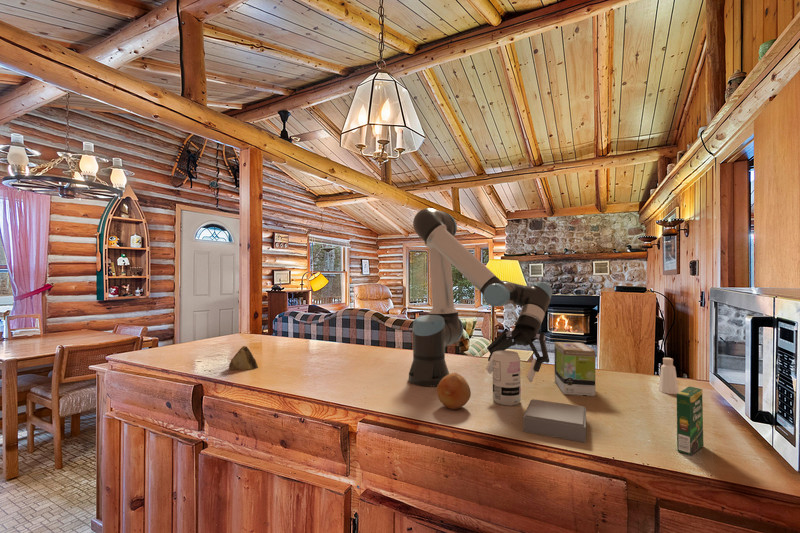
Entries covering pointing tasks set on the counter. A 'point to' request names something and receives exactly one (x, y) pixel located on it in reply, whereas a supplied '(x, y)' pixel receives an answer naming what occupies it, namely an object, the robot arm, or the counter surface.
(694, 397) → the coffee box
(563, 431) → the base block
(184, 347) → the counter surface
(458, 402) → the onion
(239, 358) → the rock
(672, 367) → the pepper shaker
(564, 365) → the tea box
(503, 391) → the supplement can
